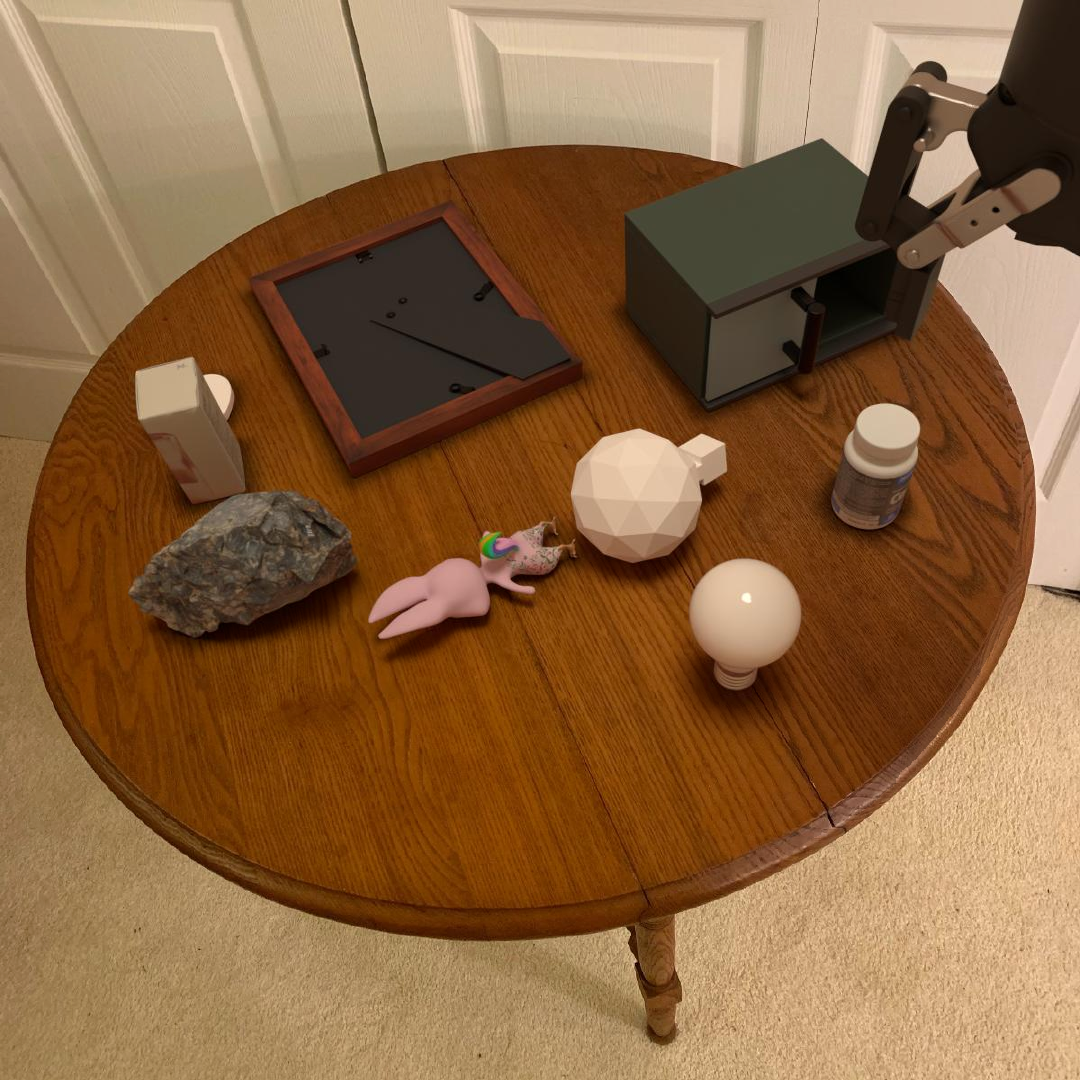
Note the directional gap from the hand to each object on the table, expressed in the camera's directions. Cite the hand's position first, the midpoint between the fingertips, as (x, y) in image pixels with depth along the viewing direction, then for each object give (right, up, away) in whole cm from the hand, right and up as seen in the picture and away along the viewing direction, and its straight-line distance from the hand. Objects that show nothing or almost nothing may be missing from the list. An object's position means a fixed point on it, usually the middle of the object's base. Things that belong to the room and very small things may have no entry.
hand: (1014, 361), depth 40 cm
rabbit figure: (-23, -11, +29) cm, 39 cm away
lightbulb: (-7, -16, +24) cm, 30 cm away
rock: (-39, -12, +30) cm, 50 cm away
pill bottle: (+4, -5, +31) cm, 32 cm away
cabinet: (-1, +11, +43) cm, 44 cm away
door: (-2, +4, +37) cm, 37 cm away
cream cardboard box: (-44, -2, +38) cm, 58 cm away
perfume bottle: (-11, -6, +31) cm, 34 cm away
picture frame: (-30, +10, +45) cm, 55 cm away
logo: (-47, +4, +42) cm, 64 cm away
